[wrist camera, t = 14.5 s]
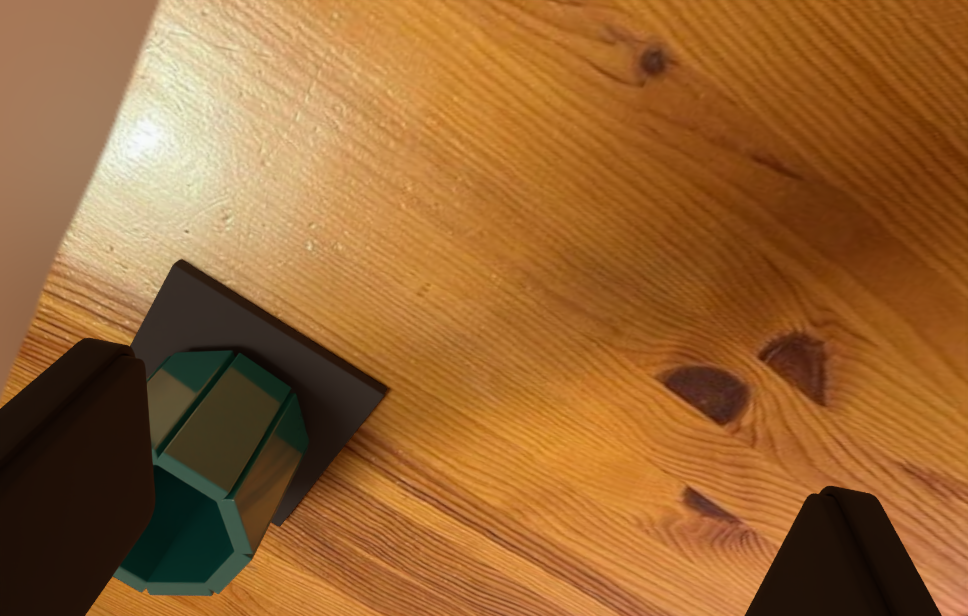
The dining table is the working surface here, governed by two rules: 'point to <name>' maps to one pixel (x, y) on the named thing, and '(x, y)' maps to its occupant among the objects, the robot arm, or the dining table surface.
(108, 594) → the dining table surface
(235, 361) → the green octagonal cup
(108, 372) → the robot arm
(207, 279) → the mat
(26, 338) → the dining table surface
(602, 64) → the dining table surface
